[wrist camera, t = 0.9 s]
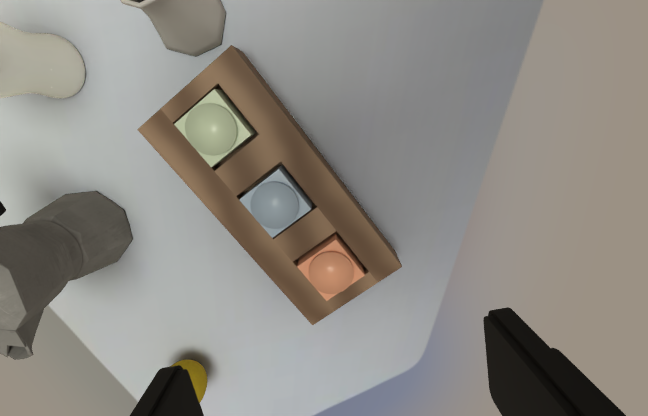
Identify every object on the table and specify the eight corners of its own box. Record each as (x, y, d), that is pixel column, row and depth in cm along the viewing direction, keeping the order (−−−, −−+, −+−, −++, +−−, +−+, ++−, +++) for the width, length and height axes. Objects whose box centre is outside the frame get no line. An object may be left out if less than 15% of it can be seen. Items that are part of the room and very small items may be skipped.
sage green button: (222, 90, 33) (211, 88, 30) (256, 132, 34) (249, 135, 31) (184, 122, 34) (171, 124, 31) (219, 163, 35) (209, 168, 32)
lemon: (165, 353, 45) (132, 404, 37) (203, 341, 44) (177, 390, 37) (185, 385, 46) (156, 441, 39) (222, 374, 46) (200, 428, 38)
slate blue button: (282, 164, 35) (277, 170, 32) (312, 202, 36) (311, 211, 33) (245, 193, 36) (237, 201, 33) (275, 229, 37) (271, 240, 34)
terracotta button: (335, 230, 37) (335, 241, 34) (362, 264, 38) (365, 278, 35) (299, 256, 38) (296, 269, 35) (326, 288, 39) (326, 304, 36)
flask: (232, 53, 34) (194, 34, 25) (161, 59, 35) (97, 43, 25) (220, -30, 32) (175, -86, 23) (145, -23, 33) (68, -76, 23)
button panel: (242, 51, 34) (231, 45, 31) (395, 251, 40) (401, 266, 36) (157, 126, 37) (137, 129, 33) (314, 305, 43) (312, 325, 39)
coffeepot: (160, 256, 41) (37, 366, 24) (98, 289, 42) (-60, 416, 25) (74, 140, 37) (-146, 172, 20) (10, 181, 39) (-248, 244, 21)
